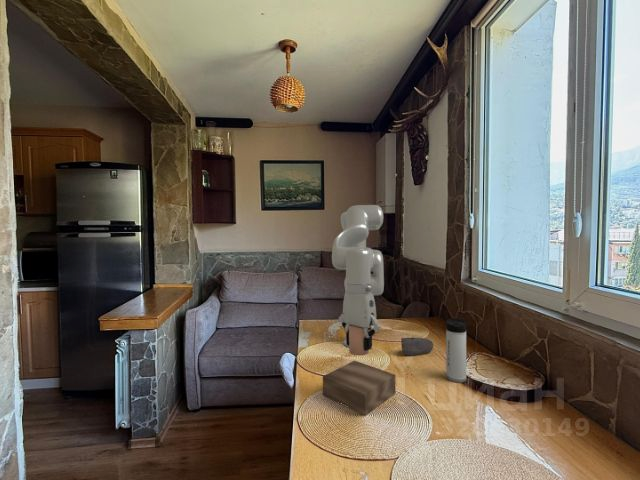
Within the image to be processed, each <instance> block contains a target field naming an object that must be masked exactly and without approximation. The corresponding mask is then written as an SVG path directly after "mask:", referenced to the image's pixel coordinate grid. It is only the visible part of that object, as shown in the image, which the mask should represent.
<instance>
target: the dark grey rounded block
mask: <svg viewBox="0 0 640 480" xmlns="http://www.w3.org/2000/svg"><path fill="white" fill-rule="evenodd" d="M400 340H401V341H400V343H401V350H402V354H403V355H404V356H419V355H425V354H428V353H429V352H432V350H433V349H434V343H433V341H432V340H431V339H428V338H423V337H402V338H400Z"/></svg>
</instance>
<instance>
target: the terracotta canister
mask: <svg viewBox="0 0 640 480" xmlns="http://www.w3.org/2000/svg"><path fill="white" fill-rule="evenodd" d="M364 337H366V336H365V333H364V330H363V328H361V327H357V326H353V325H349V347H348V352H349V354H351V355H354V356H366V355H368V354H369V353H370V352H369V350H367V351H364Z"/></svg>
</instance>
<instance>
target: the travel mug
mask: <svg viewBox="0 0 640 480" xmlns="http://www.w3.org/2000/svg"><path fill="white" fill-rule="evenodd" d="M445 325H446V328H445V330H446V331H445V333H446V334H445V340H446V341H445V343H446V345H445V347H446V349H445V350H446V351H445V359H446V360H445V361H446V362H445V367H446V369H445V372H446V379H448V380H449V381H451V382H453V383H458V384H459V383H465V382H466V381H467V322H466V321H465V320H463V319H461V318H460V319H459V318H458V317H452V318H449V319H446V324H445Z"/></svg>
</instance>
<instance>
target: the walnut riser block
mask: <svg viewBox="0 0 640 480" xmlns="http://www.w3.org/2000/svg"><path fill="white" fill-rule="evenodd" d="M396 393H397V392H396V374H394V373H392V372H388V371H386V370H383V369H380V368H377V367H374V366H371V365H368V364H366V363H363V362H360V361H357V360H352V361H351V362H349V363H347V364H345V365H342V366H341V367H338V368H337V369H335V370H332V371H330V372H329V373H327V374H324V375H322V396H324V397H326V398H327V399H329V400H332V401H334V402H335V403H338V402H339V403H338V404H340V403H342V404H344V405H346V406H348V407H349V409H350V408H351V409H350V410H352V409H353V410H352V411H354V410H355V411H354V412H356V411H357V413H358V412H359V413H358V414H360V413H361V414H360V415H362V414H363V416H364V417H365V416H368V415H369V414H370V413H372V412H373V411H375V409H377V408H378V407H380V406H381V405H382V404H384V403H385V402H386V401H388V400H389V399H391V398H392V397H393V396H394V395H396ZM342 404H341V405H342ZM344 405H343V406H344ZM346 406H345V407H346ZM348 407H347V408H348ZM368 413H369V414H368Z"/></svg>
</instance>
